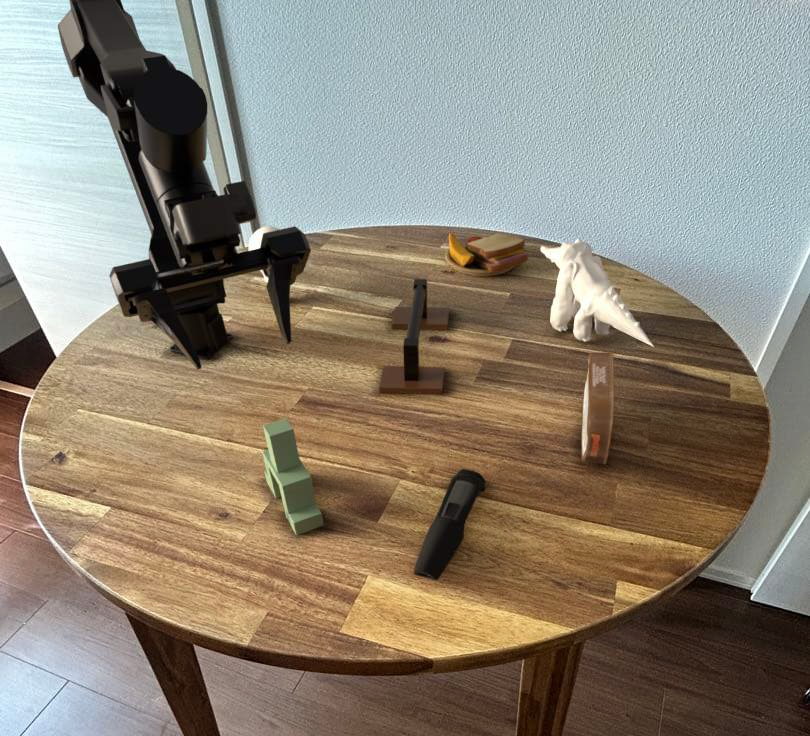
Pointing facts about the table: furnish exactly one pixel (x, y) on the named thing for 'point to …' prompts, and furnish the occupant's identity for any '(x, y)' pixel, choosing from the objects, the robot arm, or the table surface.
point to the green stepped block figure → (290, 477)
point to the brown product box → (598, 408)
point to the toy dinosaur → (587, 295)
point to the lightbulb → (256, 241)
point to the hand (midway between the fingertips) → (245, 355)
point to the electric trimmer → (449, 524)
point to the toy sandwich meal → (485, 254)
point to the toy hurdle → (415, 347)
